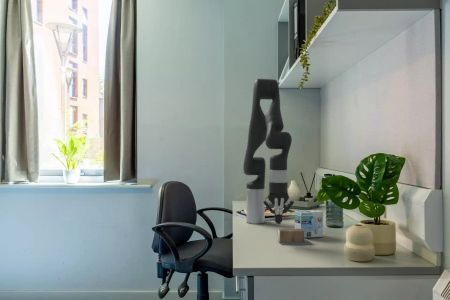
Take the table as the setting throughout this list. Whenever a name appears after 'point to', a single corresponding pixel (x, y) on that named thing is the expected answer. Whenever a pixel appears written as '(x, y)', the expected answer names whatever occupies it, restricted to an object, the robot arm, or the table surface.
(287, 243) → the rubber mat
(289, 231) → the walnut block
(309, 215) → the light bulb box
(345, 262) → the table surface
